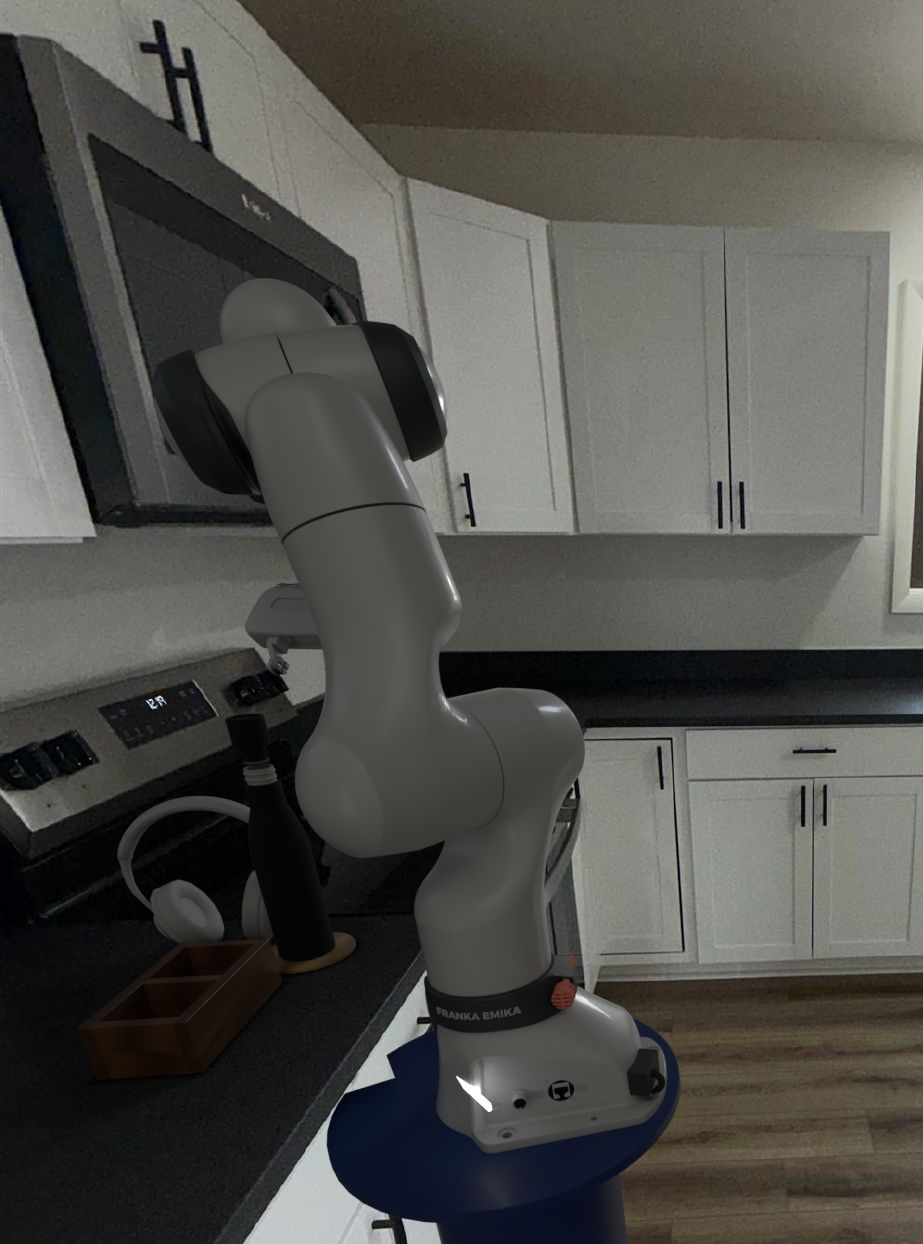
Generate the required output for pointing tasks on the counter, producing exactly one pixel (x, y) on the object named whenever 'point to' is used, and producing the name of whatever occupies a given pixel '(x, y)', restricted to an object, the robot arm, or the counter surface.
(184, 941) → the headphones
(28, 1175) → the counter surface
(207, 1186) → the counter surface
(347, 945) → the coaster
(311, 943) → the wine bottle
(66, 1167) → the counter surface
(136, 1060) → the wooden compartment tray
